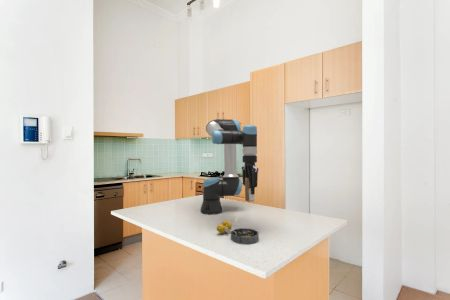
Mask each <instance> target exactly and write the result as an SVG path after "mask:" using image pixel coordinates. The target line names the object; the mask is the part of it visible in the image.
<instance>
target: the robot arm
mask: <svg viewBox="0 0 450 300" xmlns="http://www.w3.org/2000/svg"><path fill="white" fill-rule="evenodd" d="M205 130H206V133H207V134H208V135H209V136H210V137H211V143H212V144H213V145H223V146H224V147H223V149H224V150H223V152H224V153H223V154H224V159H223V162H224V175H222V179H221V178H220V177H218V176H217V177H215V176H213V177H208V178H205V179H204V180H203V181H202V203H201V207H200V213H201V214H205V215H218V214H222V213H223V207H222V203H221V197H235V196H239V195H240V194H241V191H242V189H243V188H242V187H243V186H244V187H245V178H249V180H250V187H249V201H251V202H254V201H255V195H256V194H255V191H256V190H255V189H256V188H258V177H259V175H258V174H259V168H258V167H256V163H257V162H258V155H257V154H258V127H257V126H256V125H253V124H252V125H251V124H249V125H248V124H247V125H243V126H242V129H241V125H240V122H239V121H238V120H237V119H220V118H216V119H212V120H210V121H208V123H207V124H206V126H205ZM237 145H242V163H244V165H243V166H241V173H242V175H241V176H242V178H240V176H239V175H238V174H237V173H238V172H237V171H238V170H237V168H238V167H237ZM253 200H254V201H253Z"/></svg>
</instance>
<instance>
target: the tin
mask: <svg viewBox="0 0 450 300" xmlns="http://www.w3.org/2000/svg"><path fill="white" fill-rule="evenodd" d="M233 231H235V232H236V233H237V236H236V234H235V232H233ZM259 234H260V233H259V231H258V230H256V229H253V228H249V227H248V228H246V227H244V228H242V227H241V228H235V229H232V230H231V234H230V240H231V241H232V243H236V244H240V245H252V244H256V243H258V242H259V240H260V239H259Z"/></svg>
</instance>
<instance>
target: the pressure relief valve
mask: <svg viewBox="0 0 450 300" xmlns="http://www.w3.org/2000/svg"><path fill="white" fill-rule="evenodd" d="M232 224H233V223H231V222H230V221H229V220H225V221H222V223H221V224H218V225H217V226H216V231H217V232H218V233H219V234H221V235H222V234H223V235H224V232H226V233H227V234H230V235H231V231H233V230H232V227H233V225H232ZM233 232H235V231H233ZM235 234H236V236H237V233H236V232H235Z"/></svg>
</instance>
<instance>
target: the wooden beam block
mask: <svg viewBox="0 0 450 300" xmlns="http://www.w3.org/2000/svg"><path fill="white" fill-rule="evenodd" d="M249 187H250V180H249V178H245V186H244V198H245V201H246V202H249V203H250V202H255V199H254V200H253V201H249Z"/></svg>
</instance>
